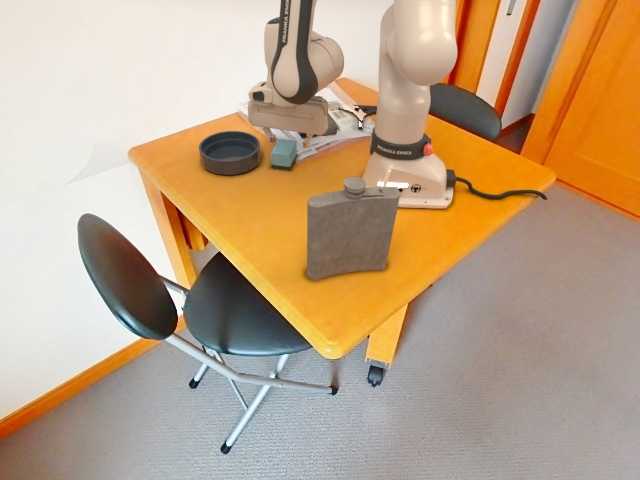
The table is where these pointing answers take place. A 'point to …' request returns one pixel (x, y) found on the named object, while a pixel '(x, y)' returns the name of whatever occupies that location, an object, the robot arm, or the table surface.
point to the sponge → (284, 154)
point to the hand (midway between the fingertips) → (289, 144)
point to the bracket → (366, 110)
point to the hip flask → (350, 229)
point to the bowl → (230, 152)
